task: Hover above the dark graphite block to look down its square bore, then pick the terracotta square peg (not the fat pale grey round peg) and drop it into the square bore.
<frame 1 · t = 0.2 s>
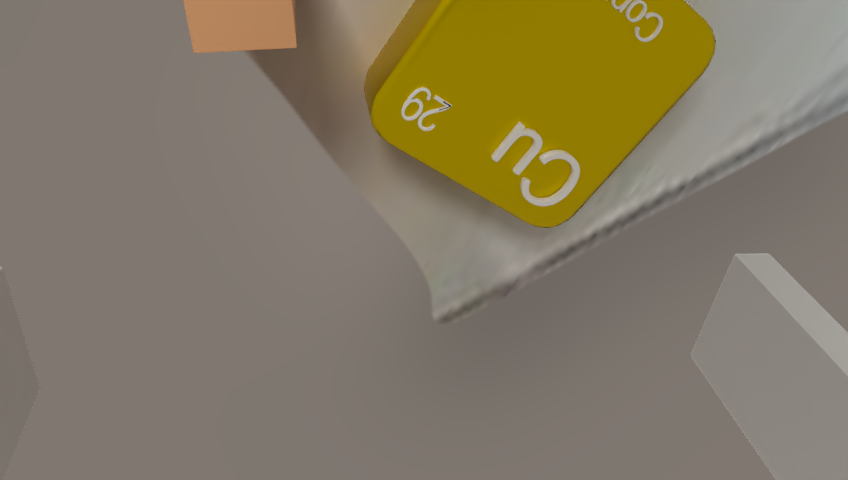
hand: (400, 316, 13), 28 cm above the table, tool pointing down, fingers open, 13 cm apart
element tile: (523, 56, 40), on the table
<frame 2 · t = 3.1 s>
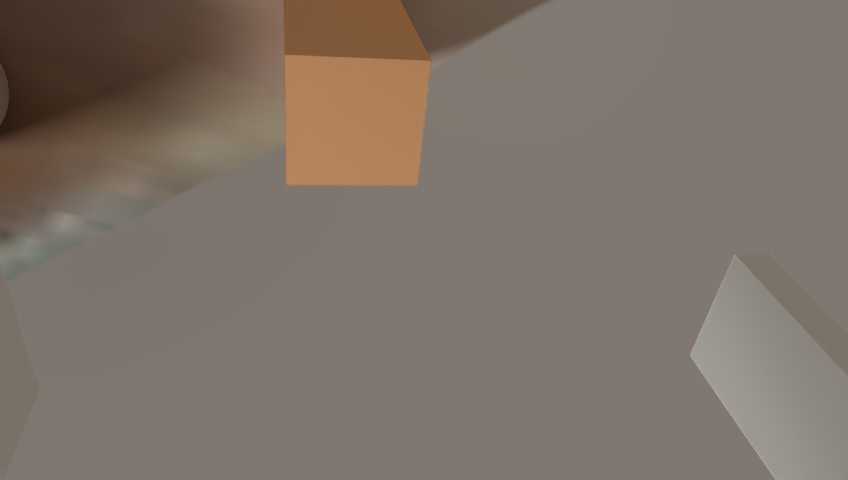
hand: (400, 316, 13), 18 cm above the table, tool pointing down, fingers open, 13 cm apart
square peg: (334, 20, 28), on the table
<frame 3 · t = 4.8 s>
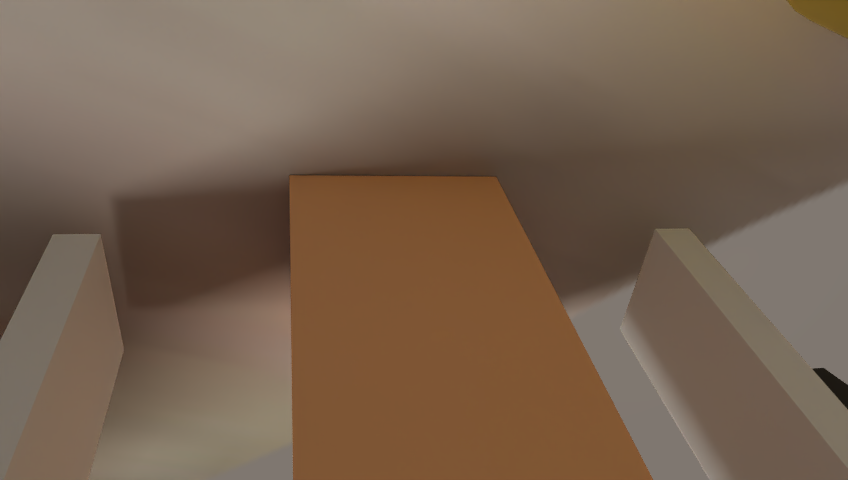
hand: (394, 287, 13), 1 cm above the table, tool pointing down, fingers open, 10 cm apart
square peg: (388, 260, 14), on the table
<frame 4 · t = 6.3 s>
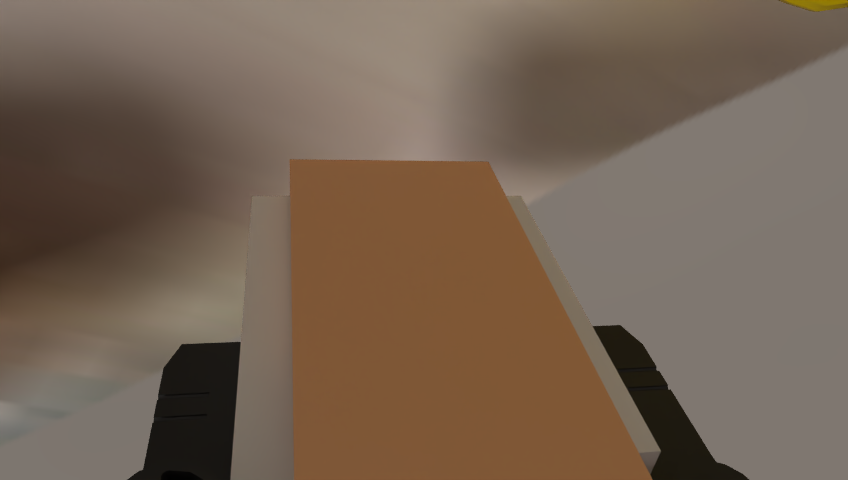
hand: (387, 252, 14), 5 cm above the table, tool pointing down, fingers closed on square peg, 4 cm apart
square peg: (385, 242, 15), point 5 cm above the table, touching gripper
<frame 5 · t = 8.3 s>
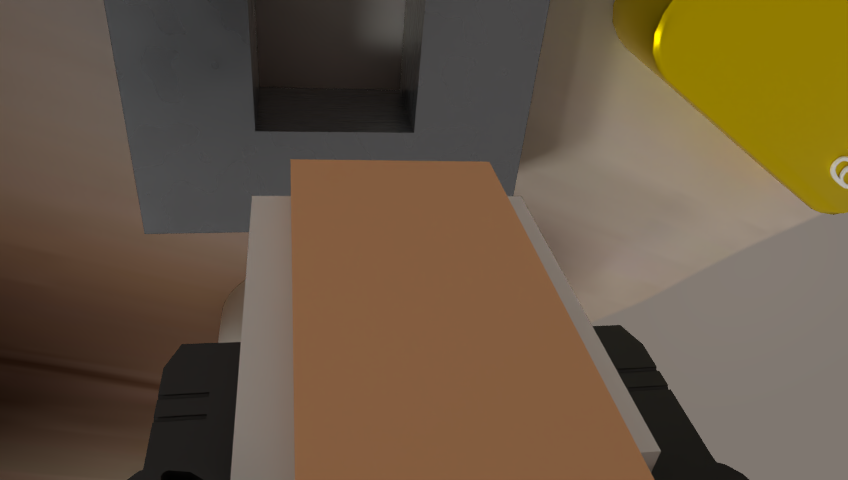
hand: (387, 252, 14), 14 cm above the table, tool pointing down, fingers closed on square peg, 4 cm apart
square peg: (385, 243, 15), point 14 cm above the table, touching gripper
bore block: (331, 18, 26), on the table
round peg: (288, 319, 34), on the table
when the fingers open (5 cm above the table, at t = 10.4 s): square peg drops 5 cm, resting in bore block.
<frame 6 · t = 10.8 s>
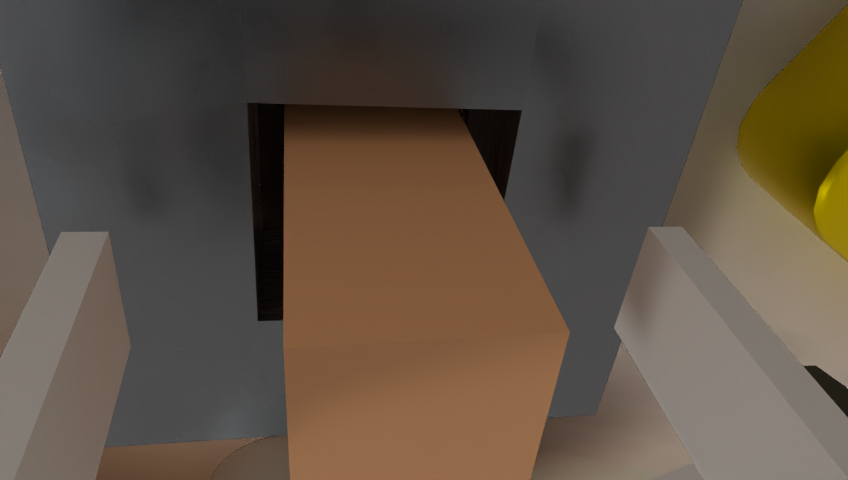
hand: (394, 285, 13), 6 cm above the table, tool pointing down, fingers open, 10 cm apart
square peg: (361, 143, 18), resting in bore block
bore block: (364, 142, 18), on the table
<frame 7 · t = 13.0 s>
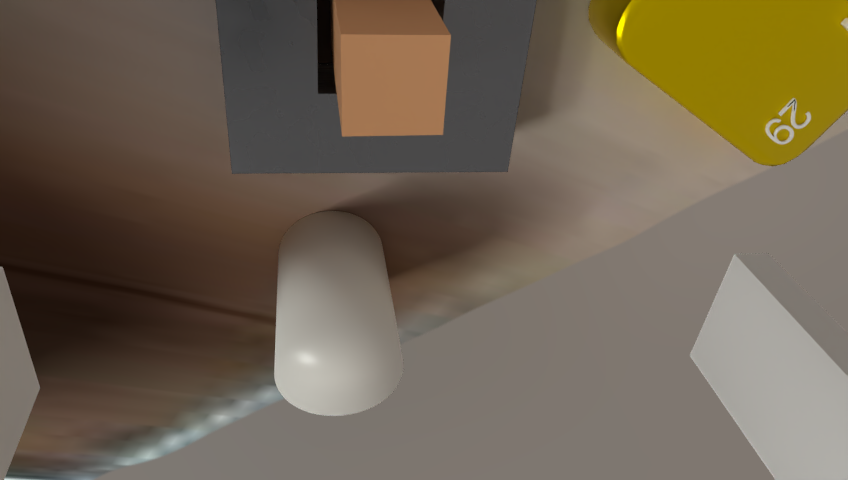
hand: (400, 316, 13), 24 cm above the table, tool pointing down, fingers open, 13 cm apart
square peg: (370, 9, 33), resting in bore block
bore block: (372, 9, 33), on the table
round peg: (331, 254, 42), on the table
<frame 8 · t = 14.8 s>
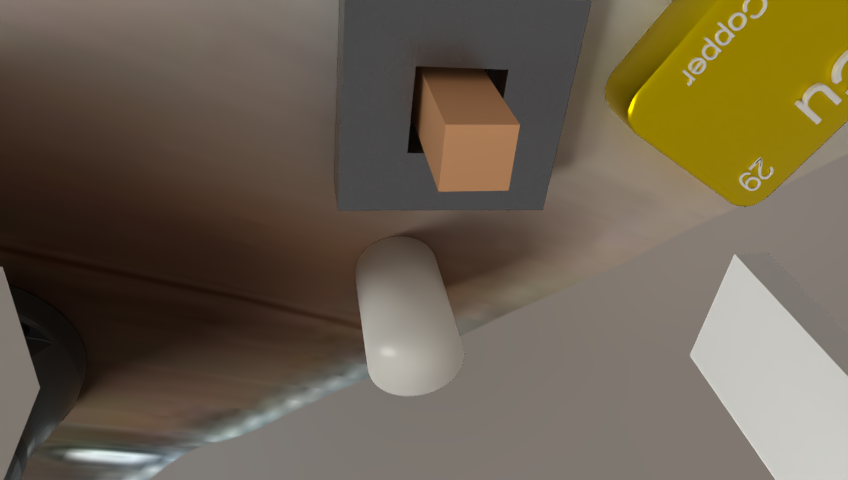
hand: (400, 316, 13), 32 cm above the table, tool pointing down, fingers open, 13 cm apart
element tile: (734, 60, 47), on the table
square peg: (443, 87, 44), resting in bore block
bore block: (444, 87, 44), on the table
round peg: (396, 270, 52), on the table
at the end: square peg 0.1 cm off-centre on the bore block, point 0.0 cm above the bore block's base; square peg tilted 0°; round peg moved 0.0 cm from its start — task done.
